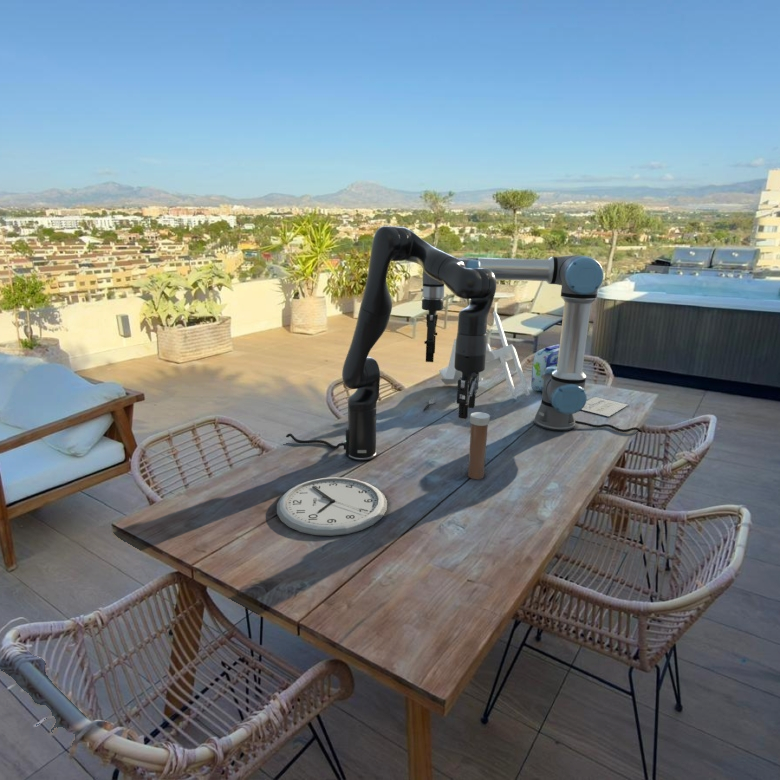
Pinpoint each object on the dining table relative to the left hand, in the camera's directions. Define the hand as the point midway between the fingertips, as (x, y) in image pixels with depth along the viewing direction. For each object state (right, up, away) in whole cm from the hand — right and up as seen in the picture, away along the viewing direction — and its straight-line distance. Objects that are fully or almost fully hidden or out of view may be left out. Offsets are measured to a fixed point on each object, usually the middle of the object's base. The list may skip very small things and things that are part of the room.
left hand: (466, 412), depth 134 cm
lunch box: (+58, +6, +116) cm, 130 cm away
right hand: (-5, +18, +56) cm, 59 cm away
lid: (+7, -2, +22) cm, 23 cm away
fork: (-3, -1, +89) cm, 89 cm away
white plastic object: (+22, +5, +109) cm, 112 cm away
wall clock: (-35, -26, +9) cm, 45 cm away
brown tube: (+7, -21, +28) cm, 35 cm away
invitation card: (+72, -1, +92) cm, 117 cm away
